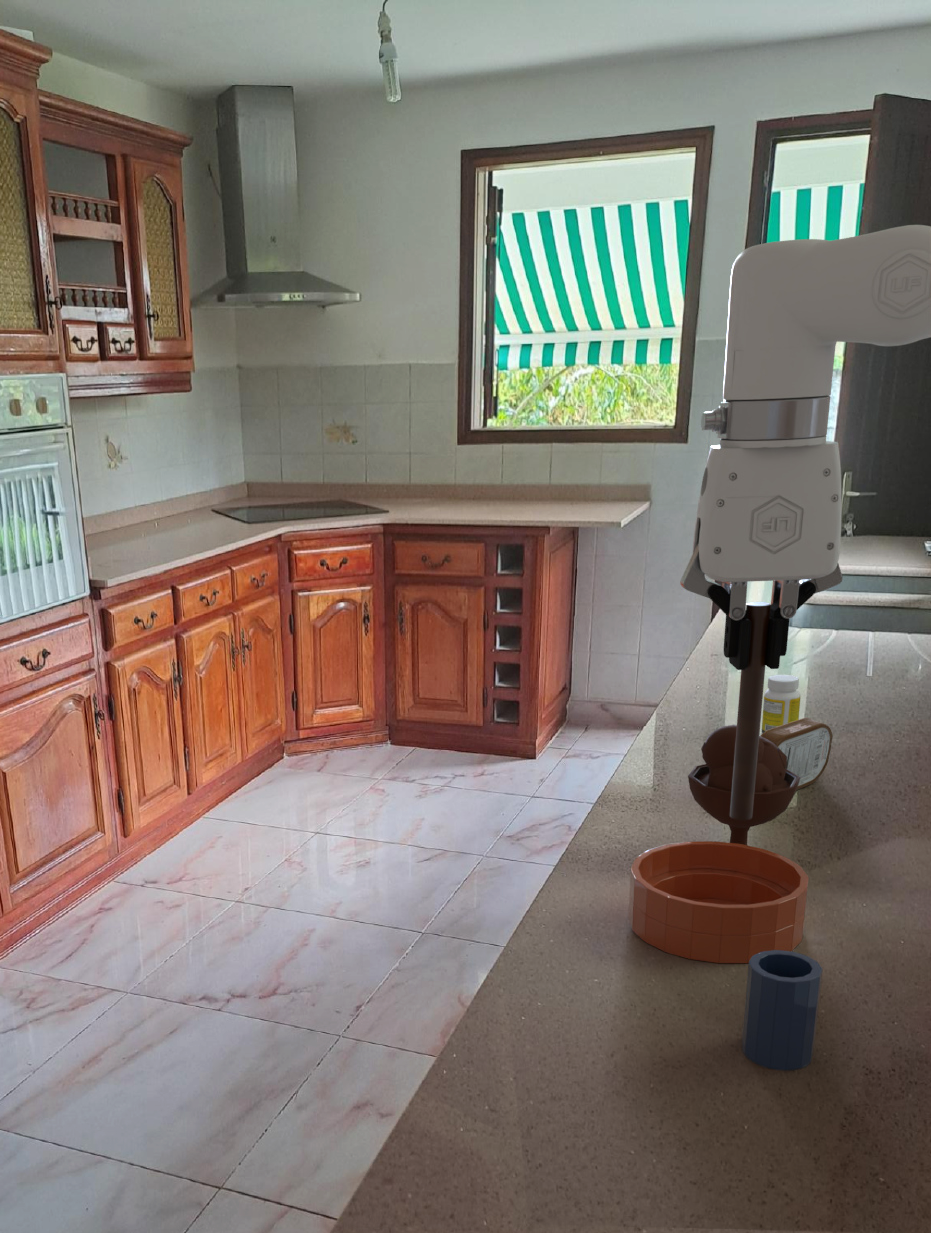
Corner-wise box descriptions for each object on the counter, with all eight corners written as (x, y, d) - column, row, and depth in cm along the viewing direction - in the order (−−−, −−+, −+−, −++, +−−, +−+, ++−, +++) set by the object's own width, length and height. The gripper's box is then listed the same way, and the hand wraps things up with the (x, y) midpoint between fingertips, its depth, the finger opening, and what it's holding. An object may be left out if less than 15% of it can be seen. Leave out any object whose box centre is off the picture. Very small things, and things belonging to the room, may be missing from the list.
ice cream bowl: (761, 889, 117) (774, 747, 112) (663, 861, 125) (671, 727, 120) (811, 858, 124) (825, 722, 118) (715, 833, 131) (724, 705, 126)
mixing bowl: (776, 896, 115) (781, 840, 113) (823, 969, 101) (830, 907, 99) (618, 897, 117) (620, 842, 115) (643, 969, 103) (646, 908, 101)
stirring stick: (748, 813, 99) (767, 601, 92) (754, 820, 97) (773, 605, 91) (727, 813, 99) (743, 602, 92) (732, 821, 97) (749, 606, 91)
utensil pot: (800, 1041, 91) (810, 949, 88) (820, 1077, 86) (831, 982, 83) (734, 1040, 91) (742, 949, 89) (750, 1076, 87) (759, 982, 84)
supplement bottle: (791, 730, 166) (797, 673, 163) (801, 740, 162) (806, 681, 159) (757, 731, 167) (761, 674, 164) (765, 741, 162) (770, 682, 159)
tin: (810, 773, 149) (816, 710, 146) (833, 779, 146) (840, 714, 143) (739, 801, 141) (744, 735, 138) (761, 808, 138) (767, 740, 135)
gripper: (676, 431, 84) (662, 680, 90) (902, 420, 83) (872, 673, 89) (655, 427, 91) (644, 658, 97) (864, 417, 90) (838, 652, 96)
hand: (753, 663), depth 93 cm, fingers closed on stirring stick, 1 cm apart
